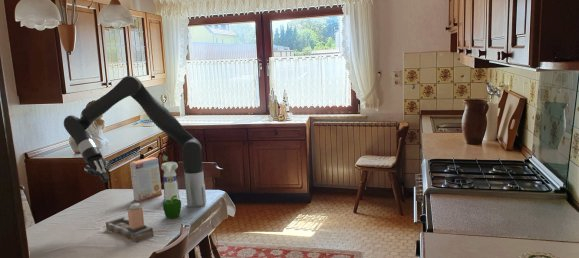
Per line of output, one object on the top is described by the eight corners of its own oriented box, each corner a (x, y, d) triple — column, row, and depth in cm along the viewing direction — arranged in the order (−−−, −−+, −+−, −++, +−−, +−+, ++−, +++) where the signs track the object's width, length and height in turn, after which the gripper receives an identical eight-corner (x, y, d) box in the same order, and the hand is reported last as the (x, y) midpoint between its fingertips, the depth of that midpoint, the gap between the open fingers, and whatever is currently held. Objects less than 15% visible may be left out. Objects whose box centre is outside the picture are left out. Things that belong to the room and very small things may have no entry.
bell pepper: (165, 221, 205) (163, 200, 203) (163, 215, 212) (161, 195, 211) (183, 218, 208) (181, 197, 206) (180, 212, 215) (179, 192, 214)
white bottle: (181, 200, 234) (177, 153, 230) (164, 202, 232) (159, 155, 228) (180, 195, 242) (176, 150, 238) (163, 197, 240) (159, 152, 236)
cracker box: (155, 193, 249) (152, 156, 246) (162, 194, 245) (158, 157, 242) (133, 199, 238) (129, 161, 235) (139, 201, 235) (135, 163, 231)
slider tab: (128, 231, 188) (125, 205, 186) (140, 227, 192) (137, 201, 190) (134, 234, 185) (131, 207, 183) (146, 230, 189) (143, 203, 187)
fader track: (106, 229, 197) (105, 222, 197) (123, 224, 204) (122, 216, 203) (136, 242, 182) (135, 234, 182) (153, 235, 188) (152, 227, 188)
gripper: (77, 149, 197) (94, 179, 192) (105, 143, 207) (122, 172, 202) (73, 159, 202) (89, 189, 196) (101, 153, 212) (117, 182, 206)
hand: (106, 181), depth 199 cm, fingers closed
